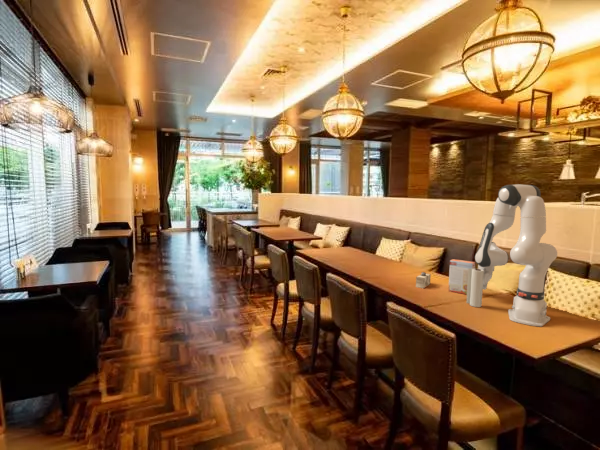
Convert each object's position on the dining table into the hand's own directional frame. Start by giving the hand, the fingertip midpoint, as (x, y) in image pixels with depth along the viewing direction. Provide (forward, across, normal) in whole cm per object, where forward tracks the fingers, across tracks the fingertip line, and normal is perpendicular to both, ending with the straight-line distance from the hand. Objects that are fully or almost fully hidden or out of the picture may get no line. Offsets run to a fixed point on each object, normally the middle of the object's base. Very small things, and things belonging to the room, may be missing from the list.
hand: (484, 288), depth 215 cm
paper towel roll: (+5, -21, +1) cm, 22 cm away
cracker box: (+5, 0, +14) cm, 15 cm away
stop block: (+5, 0, +38) cm, 38 cm away
